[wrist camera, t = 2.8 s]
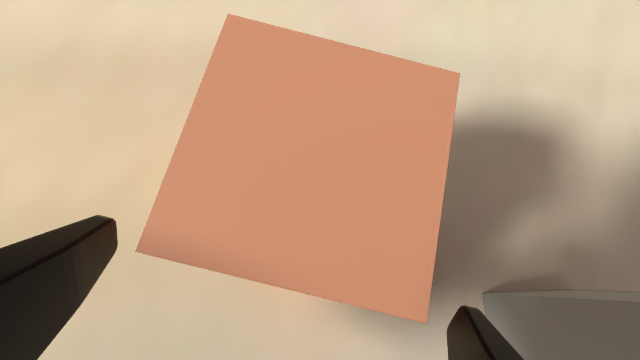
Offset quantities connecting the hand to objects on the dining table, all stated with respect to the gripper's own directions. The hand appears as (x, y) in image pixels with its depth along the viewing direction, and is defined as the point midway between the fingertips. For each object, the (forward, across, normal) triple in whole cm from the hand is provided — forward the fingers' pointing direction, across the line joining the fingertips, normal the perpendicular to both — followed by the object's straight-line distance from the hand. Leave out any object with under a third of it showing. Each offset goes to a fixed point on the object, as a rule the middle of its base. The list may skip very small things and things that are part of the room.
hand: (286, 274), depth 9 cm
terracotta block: (+8, 0, +5) cm, 10 cm away
